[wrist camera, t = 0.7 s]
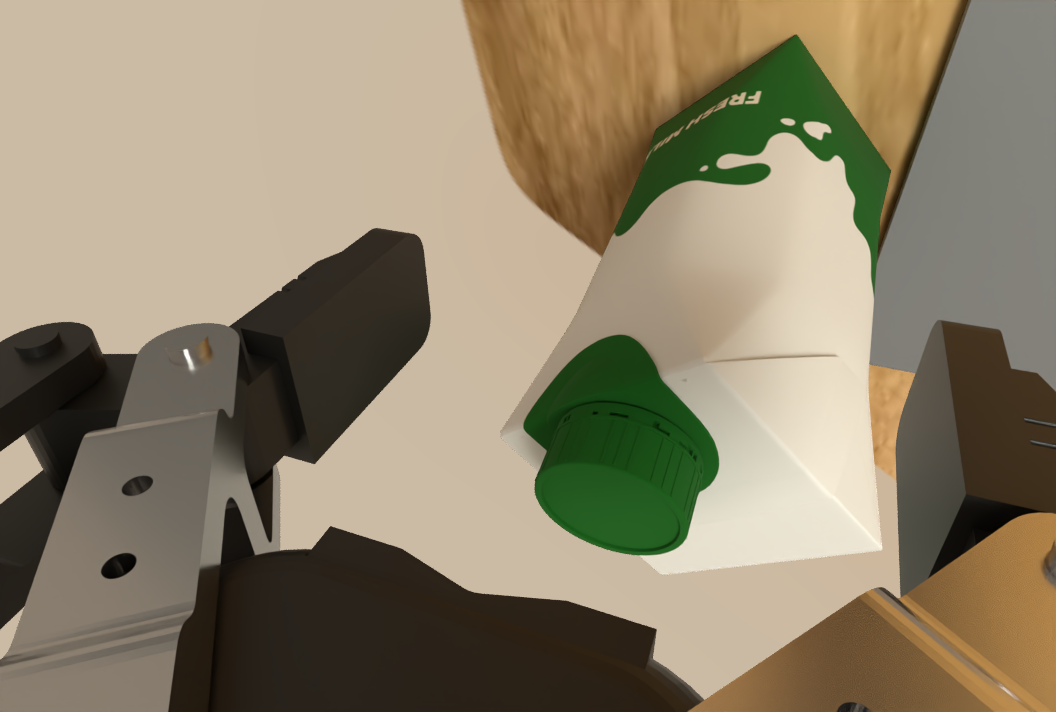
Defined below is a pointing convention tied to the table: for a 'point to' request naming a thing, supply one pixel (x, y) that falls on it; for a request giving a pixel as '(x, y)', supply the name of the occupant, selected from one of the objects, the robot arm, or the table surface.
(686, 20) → the table surface
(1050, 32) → the mat
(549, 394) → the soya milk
